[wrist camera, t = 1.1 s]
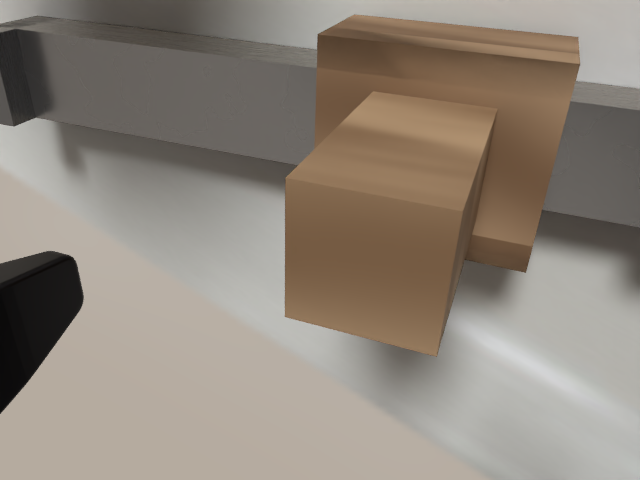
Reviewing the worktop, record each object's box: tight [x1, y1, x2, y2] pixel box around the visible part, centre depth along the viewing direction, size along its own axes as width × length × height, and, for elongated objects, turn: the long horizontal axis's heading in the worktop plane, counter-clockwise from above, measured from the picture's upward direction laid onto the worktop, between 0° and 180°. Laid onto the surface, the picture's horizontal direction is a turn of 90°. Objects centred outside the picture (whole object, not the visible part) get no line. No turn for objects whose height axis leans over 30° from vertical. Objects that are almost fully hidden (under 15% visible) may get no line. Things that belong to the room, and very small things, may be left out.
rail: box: [0, 16, 640, 228], centre depth 17 cm, size 3×22×3 cm, turn 88°
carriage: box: [285, 15, 580, 357], centre depth 14 cm, size 5×6×8 cm
